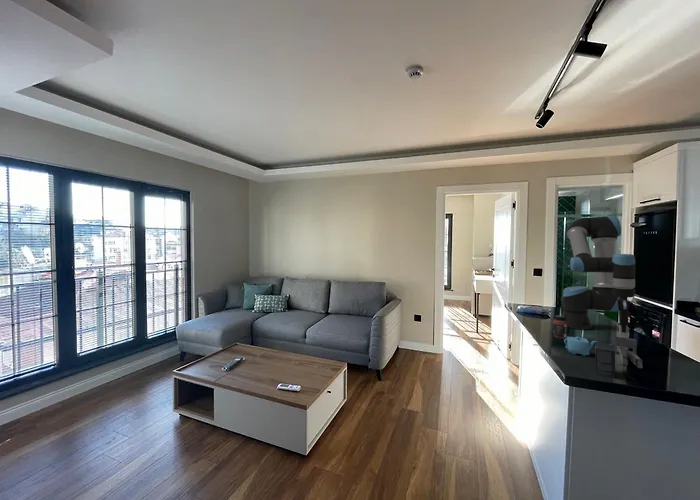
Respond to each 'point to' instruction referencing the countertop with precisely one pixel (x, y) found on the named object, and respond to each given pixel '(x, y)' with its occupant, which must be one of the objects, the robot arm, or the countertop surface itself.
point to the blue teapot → (578, 345)
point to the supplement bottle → (560, 327)
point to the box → (605, 359)
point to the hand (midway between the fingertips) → (623, 338)
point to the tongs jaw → (635, 359)
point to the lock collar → (625, 343)
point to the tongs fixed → (623, 355)
